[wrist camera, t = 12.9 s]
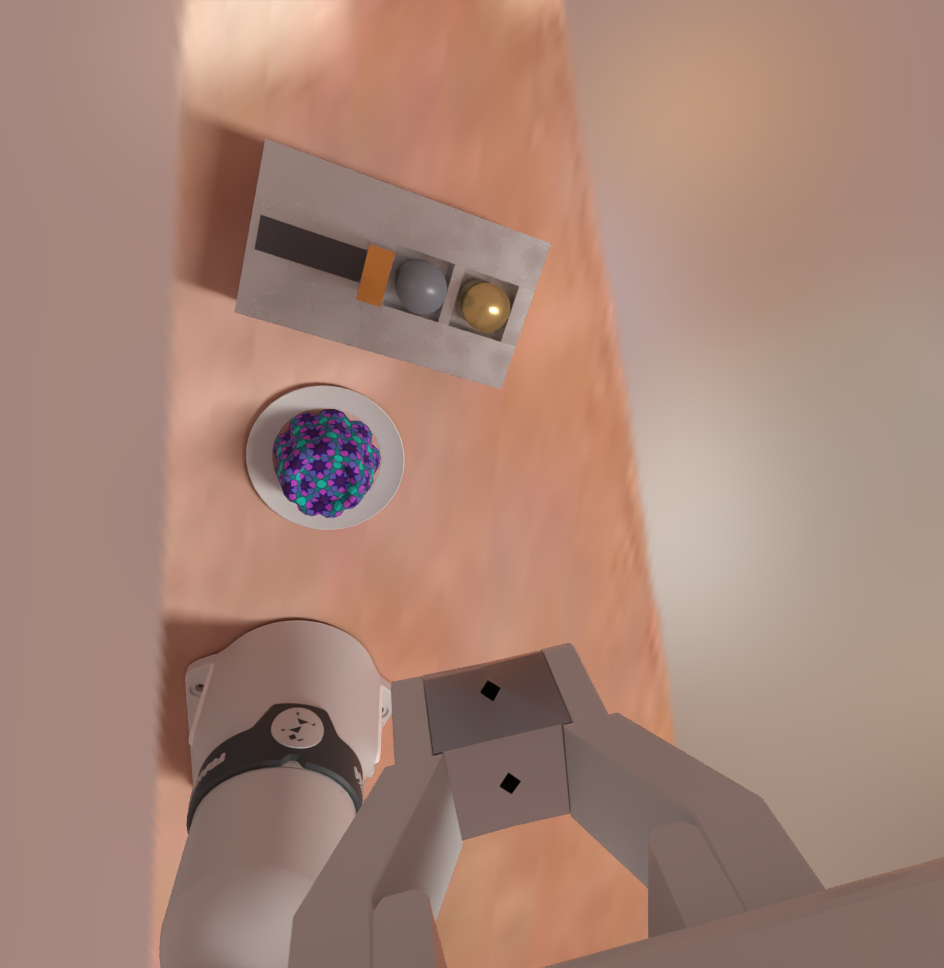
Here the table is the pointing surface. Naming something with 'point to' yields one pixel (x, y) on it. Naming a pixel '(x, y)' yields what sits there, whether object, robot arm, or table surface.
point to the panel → (411, 235)
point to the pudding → (325, 458)
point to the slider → (375, 274)
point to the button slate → (420, 286)
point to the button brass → (483, 305)
